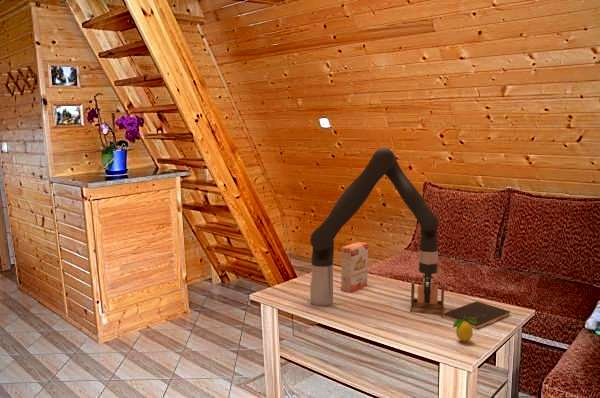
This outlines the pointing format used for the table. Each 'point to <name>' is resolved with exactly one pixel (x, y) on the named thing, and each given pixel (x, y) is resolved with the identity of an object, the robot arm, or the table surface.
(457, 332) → the lemon
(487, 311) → the hardcover book
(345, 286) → the cracker box
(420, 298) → the door panel
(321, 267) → the robot arm
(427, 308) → the track frame
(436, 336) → the table surface
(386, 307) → the table surface
